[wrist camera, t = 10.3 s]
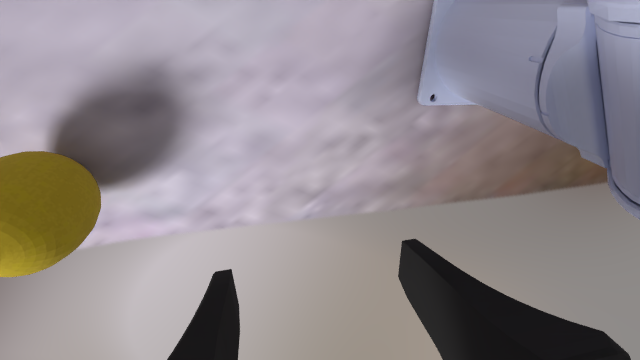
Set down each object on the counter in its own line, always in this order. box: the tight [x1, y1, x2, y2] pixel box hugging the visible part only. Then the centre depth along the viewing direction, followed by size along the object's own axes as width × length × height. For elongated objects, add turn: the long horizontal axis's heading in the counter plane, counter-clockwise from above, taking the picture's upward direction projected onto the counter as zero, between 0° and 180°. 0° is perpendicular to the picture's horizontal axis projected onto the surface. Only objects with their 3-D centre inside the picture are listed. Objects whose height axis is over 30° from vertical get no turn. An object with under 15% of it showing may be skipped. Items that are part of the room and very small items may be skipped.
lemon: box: [0, 151, 101, 277], centre depth 17 cm, size 6×6×8 cm
